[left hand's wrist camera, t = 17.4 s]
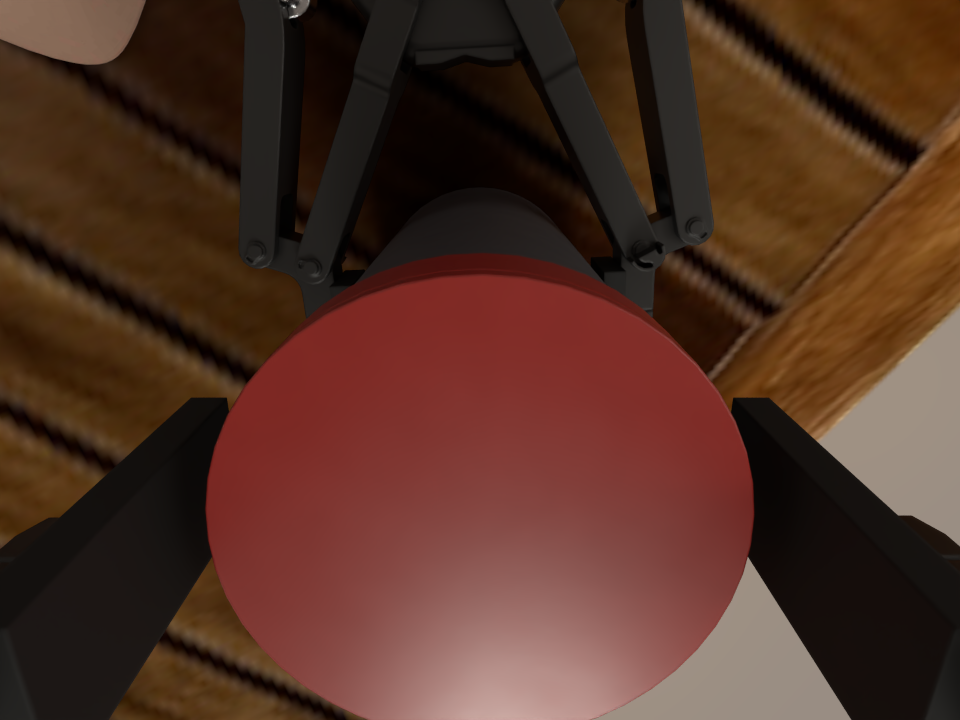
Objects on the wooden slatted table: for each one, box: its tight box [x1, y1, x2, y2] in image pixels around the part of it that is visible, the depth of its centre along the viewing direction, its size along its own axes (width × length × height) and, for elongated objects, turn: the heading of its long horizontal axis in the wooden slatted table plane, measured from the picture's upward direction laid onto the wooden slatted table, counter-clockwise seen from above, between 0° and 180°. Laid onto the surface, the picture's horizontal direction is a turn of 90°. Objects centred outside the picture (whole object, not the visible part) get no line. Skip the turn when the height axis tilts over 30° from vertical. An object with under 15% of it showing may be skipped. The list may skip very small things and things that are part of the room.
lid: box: [205, 253, 754, 720], centre depth 11 cm, size 9×9×2 cm
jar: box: [355, 187, 606, 285], centre depth 20 cm, size 9×9×19 cm
